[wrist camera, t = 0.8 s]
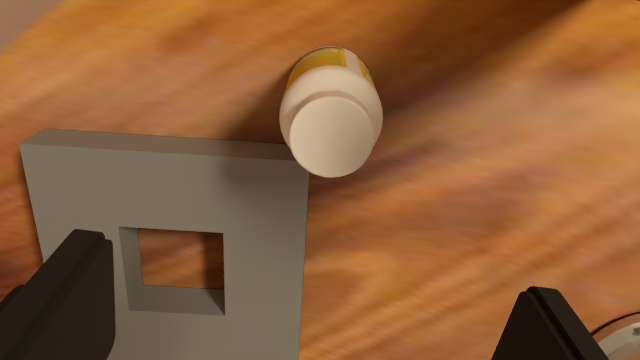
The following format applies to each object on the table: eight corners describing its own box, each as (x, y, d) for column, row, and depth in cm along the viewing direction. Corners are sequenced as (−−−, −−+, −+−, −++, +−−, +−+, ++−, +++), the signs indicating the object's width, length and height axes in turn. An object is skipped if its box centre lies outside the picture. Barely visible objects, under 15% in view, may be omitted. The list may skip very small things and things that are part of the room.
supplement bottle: (273, 102, 31) (252, 157, 22) (314, 28, 29) (309, 55, 20) (344, 142, 32) (350, 209, 23) (388, 73, 30) (413, 117, 21)
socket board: (311, 145, 32) (309, 161, 30) (299, 347, 40) (297, 376, 37) (45, 128, 32) (18, 143, 29) (82, 335, 39) (64, 363, 37)
